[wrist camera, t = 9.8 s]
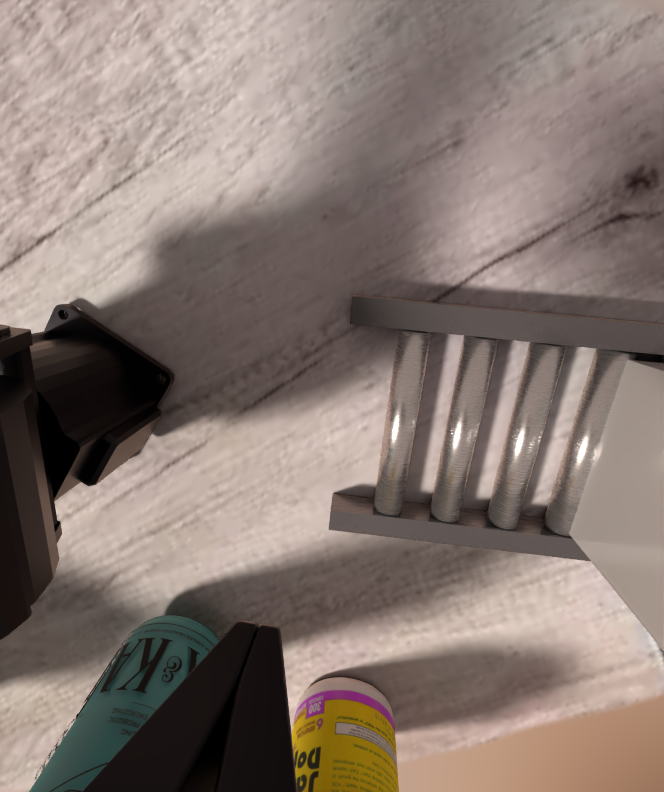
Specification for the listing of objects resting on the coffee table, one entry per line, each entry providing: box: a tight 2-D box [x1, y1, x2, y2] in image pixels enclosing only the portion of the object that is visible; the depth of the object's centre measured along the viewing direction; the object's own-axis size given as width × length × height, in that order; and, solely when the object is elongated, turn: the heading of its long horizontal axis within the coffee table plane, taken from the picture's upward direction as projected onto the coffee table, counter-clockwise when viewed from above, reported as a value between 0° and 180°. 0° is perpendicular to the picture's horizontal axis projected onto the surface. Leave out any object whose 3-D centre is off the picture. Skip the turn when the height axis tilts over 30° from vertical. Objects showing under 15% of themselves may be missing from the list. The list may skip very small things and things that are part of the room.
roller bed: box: [329, 294, 664, 561], centre depth 16 cm, size 12×25×6 cm, turn 85°
